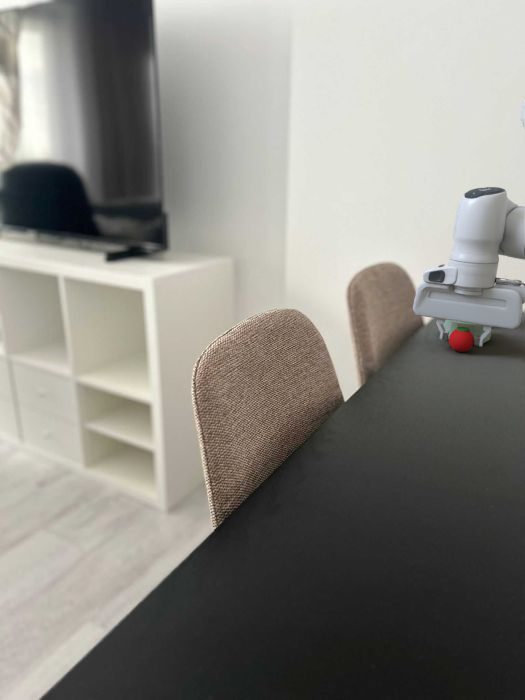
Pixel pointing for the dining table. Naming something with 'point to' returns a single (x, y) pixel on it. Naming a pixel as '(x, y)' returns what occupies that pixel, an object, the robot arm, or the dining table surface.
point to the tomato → (461, 339)
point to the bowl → (474, 328)
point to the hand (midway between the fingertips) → (460, 342)
